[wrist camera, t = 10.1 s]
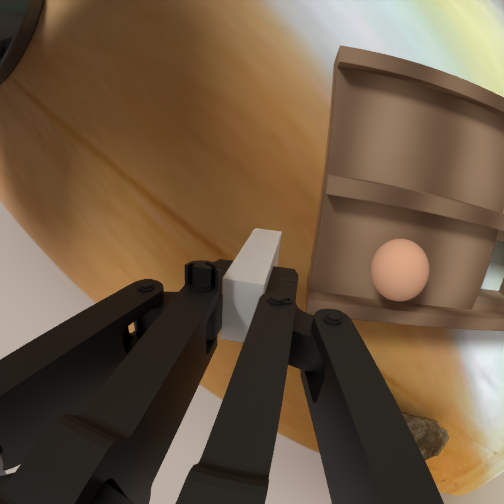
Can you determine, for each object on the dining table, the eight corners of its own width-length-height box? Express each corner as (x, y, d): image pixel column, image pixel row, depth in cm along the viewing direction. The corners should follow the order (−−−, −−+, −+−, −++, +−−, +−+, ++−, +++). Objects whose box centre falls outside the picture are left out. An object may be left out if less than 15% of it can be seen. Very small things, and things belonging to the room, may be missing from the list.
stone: (320, 452, 27) (347, 482, 20) (349, 393, 29) (385, 409, 22) (398, 466, 27) (433, 487, 20) (423, 414, 29) (463, 426, 22)
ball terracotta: (360, 280, 18) (369, 309, 15) (372, 226, 17) (386, 246, 14) (409, 287, 18) (426, 315, 14) (423, 235, 16) (446, 256, 13)
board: (307, 283, 22) (305, 312, 18) (333, 64, 16) (339, 45, 12) (506, 307, 19) (527, 331, 16) (546, 138, 14) (575, 142, 10)
